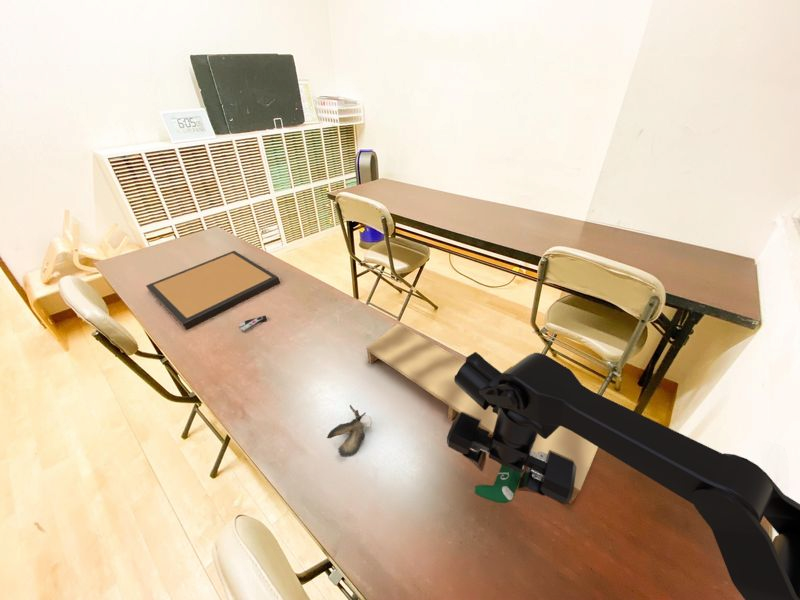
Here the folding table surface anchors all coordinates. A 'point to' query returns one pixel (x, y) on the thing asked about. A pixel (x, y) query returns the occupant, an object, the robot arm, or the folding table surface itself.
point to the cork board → (211, 288)
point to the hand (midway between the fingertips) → (500, 477)
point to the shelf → (437, 377)
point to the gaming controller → (501, 486)
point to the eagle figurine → (352, 433)
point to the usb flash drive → (251, 323)
